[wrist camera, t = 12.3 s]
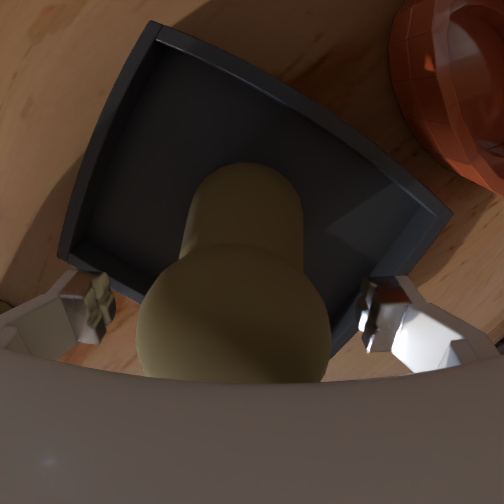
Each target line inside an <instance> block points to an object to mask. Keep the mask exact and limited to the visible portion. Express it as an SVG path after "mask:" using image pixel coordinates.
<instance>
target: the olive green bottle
mask: <svg viewBox="0 0 504 504" xmlns="http://www.w3.org/2000/svg"><path fill="white" fill-rule="evenodd" d="M135 345H136V349H137V353H138V356H139V360H140V363H141V366H142V369H143V372H144V374H145V376H146V377H154V378H164V379H174V380H186V381H200V382H218V383H249V384H287V383H317V382H320V381H321V379H322V378H323V376H324V374H325V372H326V368H327V365H328V361H329V358H330V354H331V345H332V334H331V328H330V323H329V317H328V313H327V310H326V306H325V303H324V301H323V299H322V298H321V296H320V295H319V293H318V292H317V290H316V289H315V287H314V285H313V284H312V282H311V281H310V279H309V278H308V277H307V276H306V275H305V274H304V273H303V210H302V206H301V202H300V197H299V195H298V194H297V192H296V190H295V189H294V187H293V186H292V184H291V183H290V181H289V180H288V179H286V178H285V177H284V176H283V175H281V174H280V173H279V172H277V171H276V170H275V169H272V168H269V167H267V166H264V165H261V164H259V163H243V162H238V163H234V164H231V165H227V166H224V167H220V168H219V169H217V170H216V171H214V172H213V173H211V174H210V175H209V176H207V177H206V178H205V179H204V180H203V181H202V183H201V184H200V185H199V187H198V188H197V190H196V191H195V193H194V196H193V199H192V202H191V205H190V209H189V213H188V218H187V222H186V227H185V231H184V236H183V241H182V245H181V250H180V255H179V260H178V261H176V262H175V263H173V264H172V265H171V266H169V267H168V268H167V269H165V270H164V271H163V272H161V274H160V275H159V277H158V278H157V279H156V281H155V282H154V284H153V285H152V287H151V288H150V290H149V291H148V292H147V294H146V296H145V298H144V300H143V301H142V303H141V305H140V310H139V315H138V321H137V327H136V336H135Z"/></svg>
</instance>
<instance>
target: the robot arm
mask: <svg viewBox="0 0 504 504" xmlns="http://www.w3.org/2000/svg"><path fill="white" fill-rule="evenodd" d="M110 285H111V283H110V279H109V276H108V274H107V273H106V272H97V271H82V270H81V271H80V270H66V271H65V273H64V274H63V275H62V276H61V277H60V278H59V279H58V280H57V281H56V282H55V284H54V285H53V286H52V287H51V288H50V289H49V290H48V292H47V293H46V294H41V295H39V296H37V297H35V298H33V299H31V300H29V301H27V302H25V303H23V304H21V305H19V306H17V307H15V308H13V309H11V310H9V311H7V312H5V313H3V314H1V315H0V504H504V354H503V355H501V354H500V353H499V351H498V350H497V348H496V347H495V345H494V344H493V343H492V341H491V340H490V338H489V337H488V335H487V334H486V333H484V332H482V331H480V330H479V329H477V328H475V327H474V326H472V325H470V324H468V323H466V322H465V321H463V320H461V319H459V318H458V317H456V316H454V315H452V314H450V313H449V312H447V311H445V310H443V309H441V308H440V307H438V306H436V305H434V304H432V303H427V302H426V301H425V299H424V298H423V296H422V295H421V294H420V292H419V291H418V289H417V288H416V287H415V285H414V284H413V282H412V281H411V280H410V278H409V277H408V276H406V275H401V276H380V277H363V279H362V281H361V285H360V290H361V293H362V296H361V297H360V298H359V299H358V300H357V303H356V308H355V319H356V324H357V327H358V329H359V330H361V331H362V332H363V335H362V340H363V343H364V346H365V348H366V351H367V353H369V352H386V351H392V353H393V354H394V355H395V356H396V357H397V358H398V359H399V360H401V361H402V362H403V363H404V364H405V365H406V366H407V367H408V368H410V369H411V370H412V371H413V372H414V373H410V374H403V375H396V376H388V377H380V378H370V379H360V380H349V381H335V382H317V383H287V384H249V383H218V382H200V381H186V380H174V379H164V378H154V377H146V376H138V375H130V374H123V373H117V372H110V371H104V370H98V369H93V368H87V367H82V366H77V365H72V364H67V363H62V362H58V361H56V360H57V359H59V358H60V357H61V356H62V355H64V354H65V353H66V352H68V351H69V350H70V349H71V348H73V347H74V346H75V345H76V344H78V342H83V343H91V344H100V343H101V341H102V339H103V337H104V335H105V333H106V332H107V330H106V327H105V326H106V325H108V324H109V323H111V322H112V320H113V318H114V316H115V311H116V303H115V298H114V295H113V294H112V293H111V292H110V290H109V287H110Z"/></svg>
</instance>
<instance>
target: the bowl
mask: <svg viewBox="0 0 504 504" xmlns="http://www.w3.org/2000/svg"><path fill="white" fill-rule="evenodd" d="M388 46H389V47H388V52H389V62H390V73H391V81H392V84H393V87H394V90H395V93H396V96H397V99H398V102H399V105H400V108H401V111H402V114H403V116H404V119H405V120H406V122H407V123H408V125H409V127H410V128H411V130H412V131H413V133H414V135H415V136H416V138H417V140H418V141H419V143H420V145H421V146H422V147H423V148H424V149H425V150H426V151H427V152H428V153H429V154H430V155H431V156H432V157H433V158H434V159H436V160H437V161H438V162H439V163H440V164H441V165H442V166H443V167H444V168H445V169H448V170H450V171H452V172H454V173H456V174H458V175H460V176H462V177H464V178H467V179H469V180H471V181H473V182H475V183H477V184H479V185H481V186H483V187H485V188H486V189H488V190H490V191H492V192H494V193H496V194H498V195H500V196H501V197H503V198H504V0H405V1H404V3H403V4H402V6H401V7H400V9H399V10H398V12H397V13H396V15H395V17H394V19H393V24H392V29H391V34H390V39H389V44H388Z"/></svg>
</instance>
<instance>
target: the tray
mask: <svg viewBox="0 0 504 504" xmlns="http://www.w3.org/2000/svg"><path fill="white" fill-rule="evenodd" d="M238 162H243V163H259V164H261V165H264V166H267V167H269V168H272V169H275V170H276V171H277V172H279V173H280V174H281V175H283V176H284V177H285V178H286V179H288V180H289V181H290V183H291V184H292V186H293V187H294V189H295V190H296V192H297V194H298V195H299V197H300V202H301V206H302V210H303V273H304V274H305V275H306V276H307V277H308V278H309V279H310V281H311V282H312V284H313V285H314V287H315V289H316V290H317V292H318V293H319V295H320V296H321V298H322V299H323V301H324V303H325V306H326V310H327V313H328V317H329V323H330V328H331V334H332V345H331V354H330V358H329V360H330V359H331V358H332V357H333V356H334V355H335V354H336V353H337V352H338V351H339V350H340V349H341V348H342V347H343V346H344V345H345V344H346V343H347V342H348V341H349V340H350V339H351V338H352V337H353V336H354V335H355V334H356V333H357V332H358V330H359V329H358V327H357V324H356V319H355V308H356V303H357V300H358V299H359V298H360V297H361V296H362V293H361V290H360V285H361V281H362V279H363V277H380V276H401V275H406V276H407V275H408V274H409V273H410V271H411V270H412V269H413V268H414V266H415V265H416V264H417V263H418V261H419V260H420V259H421V258H422V256H423V255H424V254H425V252H426V251H427V250H428V248H429V247H430V246H431V244H432V243H433V242H434V240H435V239H436V238H437V236H438V235H439V234H440V232H441V231H442V230H443V228H444V227H445V225H446V224H447V223H448V221H449V220H450V218H451V217H452V216H453V212H452V211H451V210H450V209H449V208H448V207H447V206H445V204H444V203H443V202H441V201H440V200H439V199H438V198H437V197H436V196H435V195H434V194H433V193H432V192H431V191H430V190H429V189H428V188H427V187H425V186H424V185H423V184H422V183H421V182H420V181H419V180H418V179H416V178H415V177H414V176H413V175H412V174H411V173H410V172H408V171H407V170H406V169H405V168H404V167H403V166H401V165H400V164H399V163H398V162H397V161H395V160H394V159H393V158H392V157H391V156H389V155H388V154H387V153H386V152H384V151H383V150H382V149H381V148H379V147H378V146H377V145H375V144H374V143H373V142H372V141H370V140H369V139H368V138H366V137H365V136H364V135H362V134H361V133H360V132H358V131H357V130H356V129H354V128H353V127H351V126H350V125H349V124H347V123H346V122H344V121H343V120H342V119H340V118H339V117H337V116H336V115H334V114H333V113H331V112H330V111H328V110H327V109H325V108H324V107H322V106H321V105H319V104H318V103H316V102H315V101H313V100H312V99H310V98H309V97H307V96H305V95H304V94H302V93H301V92H299V91H297V90H296V89H294V88H292V87H291V86H289V85H287V84H286V83H284V82H282V81H281V80H279V79H277V78H275V77H274V76H272V75H270V74H268V73H266V72H265V71H263V70H261V69H259V68H257V67H255V66H254V65H252V64H250V63H248V62H246V61H244V60H242V59H240V58H238V57H236V56H234V55H232V54H230V53H228V52H226V51H224V50H222V49H220V48H218V47H215V46H213V45H211V44H209V43H207V42H204V41H202V40H200V39H198V38H195V37H193V36H191V35H188V34H186V33H183V32H181V31H179V30H176V29H173V28H171V27H168V26H166V25H163V24H160V23H157V22H155V21H152V20H151V21H149V22H148V24H147V25H146V27H145V29H144V30H143V32H142V34H141V35H140V37H139V39H138V40H137V42H136V44H135V46H134V48H133V49H132V51H131V53H130V55H129V57H128V58H127V60H126V62H125V64H124V66H123V68H122V70H121V72H120V74H119V76H118V78H117V80H116V82H115V84H114V86H113V88H112V90H111V92H110V94H109V97H108V99H107V101H106V103H105V105H104V108H103V110H102V112H101V115H100V117H99V119H98V122H97V124H96V127H95V129H94V132H93V134H92V137H91V139H90V142H89V145H88V147H87V150H86V153H85V155H84V158H83V161H82V164H81V167H80V170H79V173H78V176H77V179H76V182H75V185H74V189H73V192H72V195H71V199H70V202H69V206H68V210H67V213H66V217H65V221H64V225H63V229H62V233H61V237H60V242H59V246H58V251H57V257H58V258H60V259H62V260H63V261H65V262H67V263H68V264H69V265H71V266H73V267H74V268H76V269H78V270H80V271H81V270H82V271H97V272H106V273H107V274H108V276H109V279H110V283H111V285H110V287H109V288H111V289H112V290H114V291H116V292H118V293H120V294H122V295H123V296H125V297H127V298H129V299H131V300H133V301H135V302H136V303H138V304H140V305H141V303H142V301H143V300H144V298H145V296H146V294H147V292H148V291H149V290H150V288H151V287H152V285H153V284H154V282H155V281H156V279H157V278H158V277H159V275H160V274H161V272H163V271H164V270H165V269H167V268H168V267H169V266H171V265H172V264H173V263H175V262H176V261H178V260H179V255H180V250H181V245H182V241H183V236H184V231H185V227H186V222H187V218H188V213H189V209H190V205H191V202H192V199H193V196H194V193H195V191H196V190H197V188H198V187H199V185H200V184H201V183H202V181H203V180H204V179H205V178H206V177H207V176H209V175H210V174H211V173H213V172H214V171H216V170H217V169H219V168H220V167H224V166H227V165H231V164H234V163H238Z"/></svg>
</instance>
